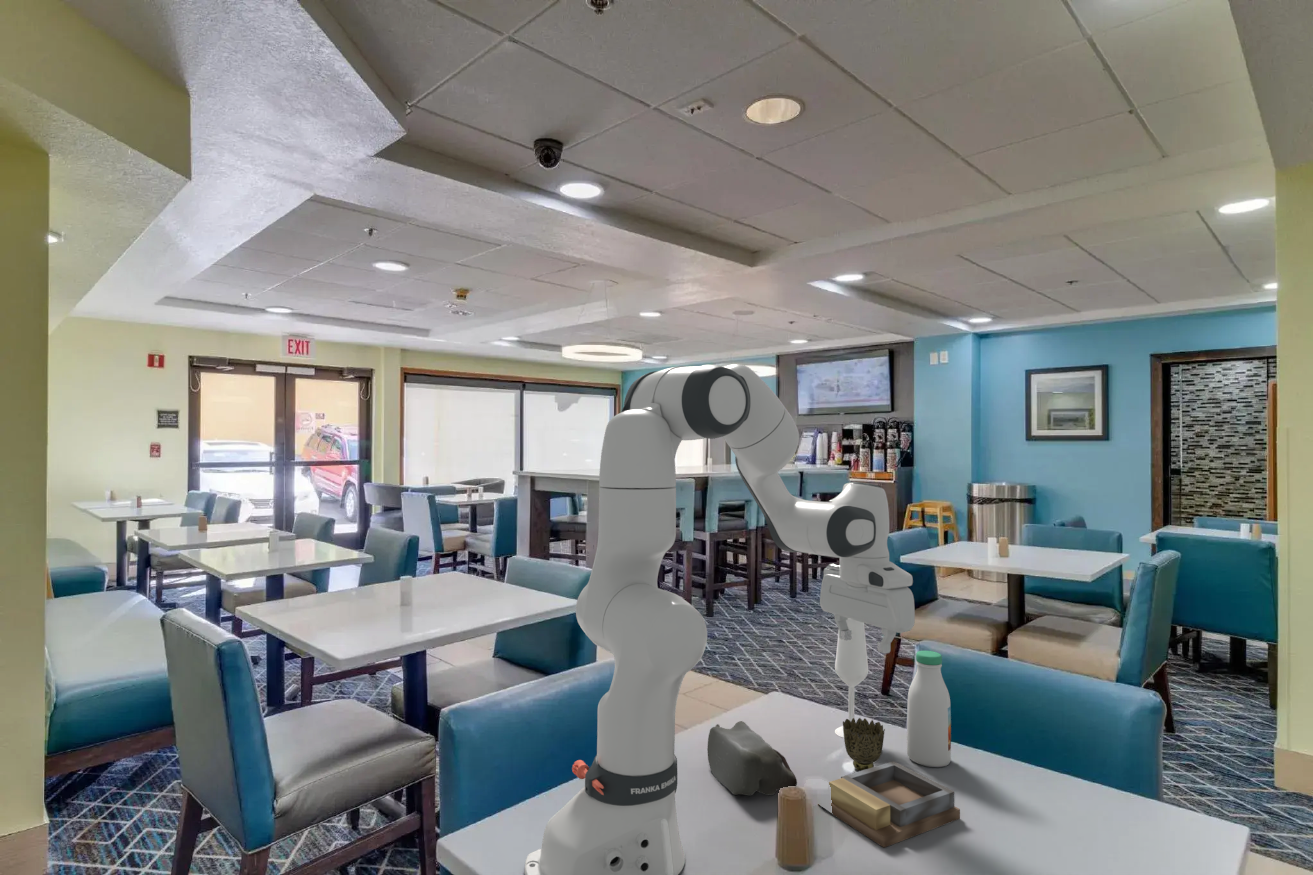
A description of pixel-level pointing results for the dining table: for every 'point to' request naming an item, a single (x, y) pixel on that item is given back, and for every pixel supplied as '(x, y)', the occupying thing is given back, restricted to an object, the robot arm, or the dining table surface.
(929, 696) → the milk bottle
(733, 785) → the rock
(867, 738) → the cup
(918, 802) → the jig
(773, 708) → the dining table surface
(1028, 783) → the dining table surface
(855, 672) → the champagne flute
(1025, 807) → the dining table surface
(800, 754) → the dining table surface
